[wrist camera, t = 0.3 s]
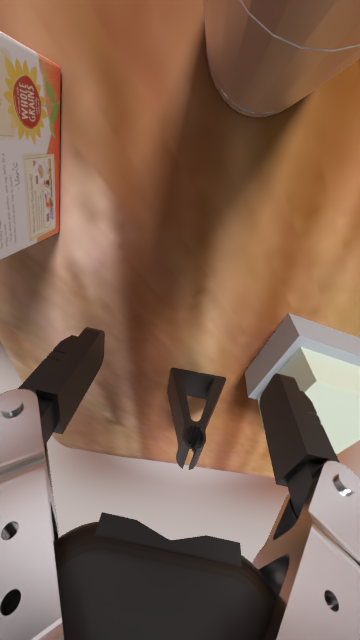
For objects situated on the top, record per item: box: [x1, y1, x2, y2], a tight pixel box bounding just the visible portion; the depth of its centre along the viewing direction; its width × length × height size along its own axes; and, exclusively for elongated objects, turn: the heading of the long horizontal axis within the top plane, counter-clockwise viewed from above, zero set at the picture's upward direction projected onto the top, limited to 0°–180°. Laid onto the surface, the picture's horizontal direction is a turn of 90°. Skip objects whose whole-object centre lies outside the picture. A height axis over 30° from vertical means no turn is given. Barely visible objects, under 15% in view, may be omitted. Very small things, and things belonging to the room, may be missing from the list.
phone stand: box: [167, 368, 226, 470], centre depth 34 cm, size 9×6×12 cm, turn 82°
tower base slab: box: [245, 313, 360, 400], centre depth 31 cm, size 12×12×5 cm
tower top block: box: [257, 347, 360, 454], centre depth 27 cm, size 10×10×5 cm
